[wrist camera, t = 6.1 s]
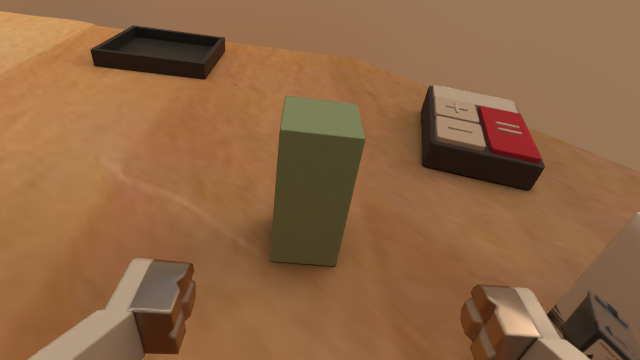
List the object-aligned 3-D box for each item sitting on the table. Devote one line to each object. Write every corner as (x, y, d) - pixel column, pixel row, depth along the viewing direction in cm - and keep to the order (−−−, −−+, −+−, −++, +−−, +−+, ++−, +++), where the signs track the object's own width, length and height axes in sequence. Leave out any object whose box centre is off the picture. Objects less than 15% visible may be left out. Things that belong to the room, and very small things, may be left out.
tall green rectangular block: (269, 261, 24) (279, 129, 18) (275, 217, 28) (285, 95, 22) (335, 266, 25) (365, 138, 19) (333, 222, 28) (357, 103, 23)
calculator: (433, 135, 35) (430, 79, 47) (420, 171, 37) (420, 109, 49) (551, 161, 34) (517, 96, 45) (529, 196, 36) (503, 126, 48)
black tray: (94, 65, 47) (90, 49, 46) (135, 39, 58) (132, 25, 56) (205, 79, 48) (204, 63, 47) (225, 50, 59) (224, 37, 58)
